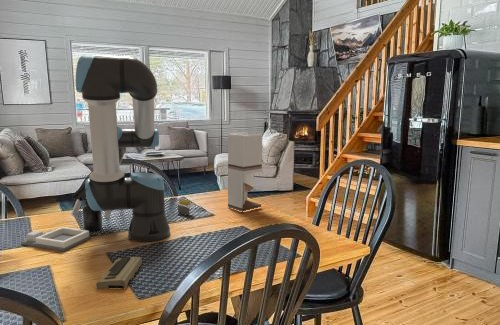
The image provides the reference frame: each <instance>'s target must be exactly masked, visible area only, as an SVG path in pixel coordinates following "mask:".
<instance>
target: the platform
mask: <svg viewBox="0 0 500 325" xmlns="http://www.w3.org/2000/svg"><path fill="white" fill-rule="evenodd" d="M174 204H175V205H176V206H177V213H178V212H179V214H181V213H182V215H184V214H186V215H185V216H187V215H189V216H188V217H190V216H191V215H190V213H191V212H190V208H193V206H194V204H193V203H191V201H190V200H188V199H184V198H180V199H179V200H178V201H176V202H174Z"/></svg>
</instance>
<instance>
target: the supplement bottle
mask: <svg viewBox="0 0 500 325" xmlns="http://www.w3.org/2000/svg"><path fill="white" fill-rule="evenodd" d="M102 214H103V211H94V210H92V209H91V208H90V206H89V204H88V201H87V198H85V199H84V206H83V208H82V223H83V224H82V226H83V230H87V231H89V233H90V232H98V231H100V230H102V228H103V216H102Z"/></svg>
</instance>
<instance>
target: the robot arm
mask: <svg viewBox="0 0 500 325" xmlns="http://www.w3.org/2000/svg"><path fill="white" fill-rule="evenodd" d="M75 90H76V92H77V93H79V94H80V93H81V97H82V100H84V101H85V102H86V103H87V107H88V119H89V120H88V121H89V130H90V131H89V133H90V143H91V152H92V156H91V157H92V166H93V171H92V172H91V173H90V174H89V176H88V177H89V178H87V179H86V180H85V182H84V183H83V184H82V185H80V187H79V188H78V189H77V190H76V191H75V192H74V193H73V194H72V195H71V198H72V199H73V200H74V202H73V204H72V210H71V213H70V215H71V216H73V217H74V218H77V217H78V216H77V215H78V213H79V210H80V208H81V205H82V203H83V202H82V201H83V200H85V199H87V201H88V204H89V206H90V208H91V209H92V210H94V211H102V212H104V216H103V217H104V218H105V220H109V219H110V216H111V214H112V212H114V211H123V210H132V217H131V221H130V223H129V227H128V231H127V234H128V235H127V237H128V238H129V239H130V240H132V241H135V242H144V243H145V242H147V243H148V242H156V241H161V240H163V239H166V238H168V237H169V236H170V235H171V227H170V225H169V222H168V221H169V220H168V219H167V217H166V211H165V208H166V206H165V190H166V189H165V182H164V178H163V176H161V175H159V174H156V173H153V172H152V173H151V172H145V171H139V172H132V173H131V174H130V176H129V177H125V172H124V171H123V170H122V169H120V168H121V166H120V165H121V163H122V161H123V158H124V156H125V153H126V151H127V148H155V147H159V145H160V130H159V129H157V128H155V97H156V96H157V95H158V94H157V93H158V83H157V80H156V77H155V76H154V73H153V72H152V70H151V69H150V68H149V67H148V66H147V65H146V64H145V62H143V61H141V60H139V59H137V58H136V57H132V56H129V55H128V56H127V55H124V56H119V55H101V54H86V55H85V54H83V55H81V56H79V58H78V60H77V63H76V70H75ZM121 94H129V96H130V97H131V99H132V100H131V101H132V111H133V125H134V128H130V129H129V128H128V129H127V128H125V129H123V128H121V126H119V125H118V120H117V105H116V104H117V102H118V101H119V100H120V99H121Z"/></svg>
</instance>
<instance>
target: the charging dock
mask: <svg viewBox="0 0 500 325" xmlns="http://www.w3.org/2000/svg"><path fill="white" fill-rule="evenodd" d="M90 239H91V235H90V232H89V231H87V230H84V229H78V228H74V227H73V228H71V227H67V226H66V227H64V226H62V227H59V228H57V229H56V228H54V229H49V230H47V231H45V232H44V231H42V230H34V231H31V232H28V233H26V239H24V240H22V241H21V243H20V244H21V245H22V246H28V247H35V248H41V249H47V250H50V251H51V250H52V251H58V252H64V251H67V250H69V249H71V248H73V247H75V246H77V245H79V244H82V243H83V242H86V241H88V240H90Z"/></svg>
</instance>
